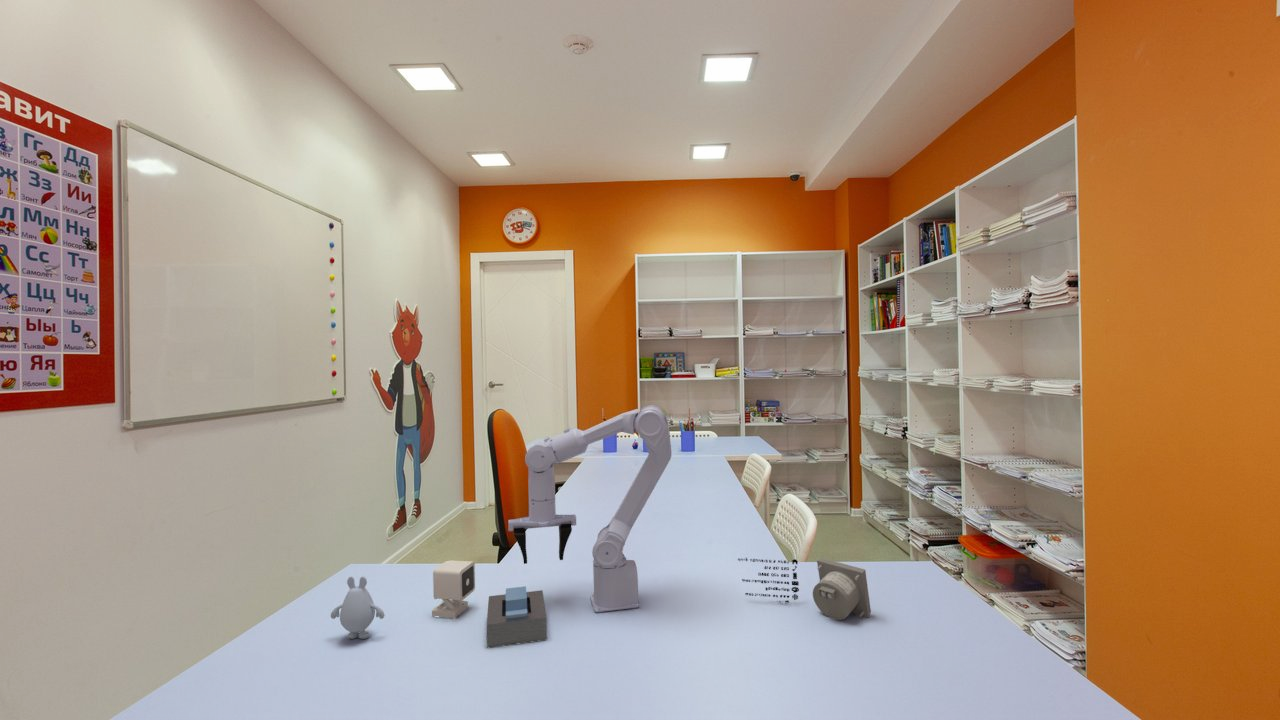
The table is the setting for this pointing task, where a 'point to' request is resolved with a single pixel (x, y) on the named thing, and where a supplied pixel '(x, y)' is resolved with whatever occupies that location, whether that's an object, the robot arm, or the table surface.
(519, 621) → the frame
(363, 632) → the toy figure
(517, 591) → the block
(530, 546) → the table surface
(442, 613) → the security camera
